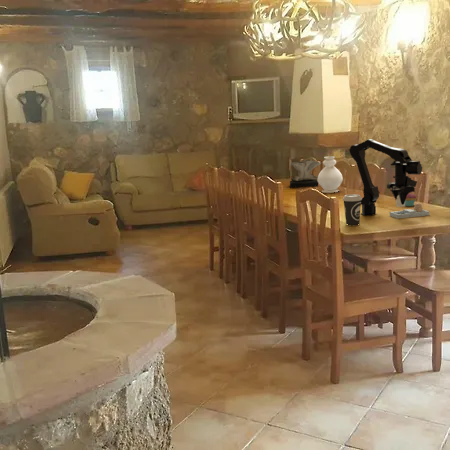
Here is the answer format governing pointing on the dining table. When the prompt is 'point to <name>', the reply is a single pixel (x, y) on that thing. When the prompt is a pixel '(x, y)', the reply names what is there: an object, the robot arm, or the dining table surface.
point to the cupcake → (410, 200)
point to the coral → (304, 174)
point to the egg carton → (408, 213)
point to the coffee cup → (352, 208)
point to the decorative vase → (330, 176)
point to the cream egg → (399, 202)
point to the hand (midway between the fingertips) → (400, 203)
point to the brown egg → (418, 207)
